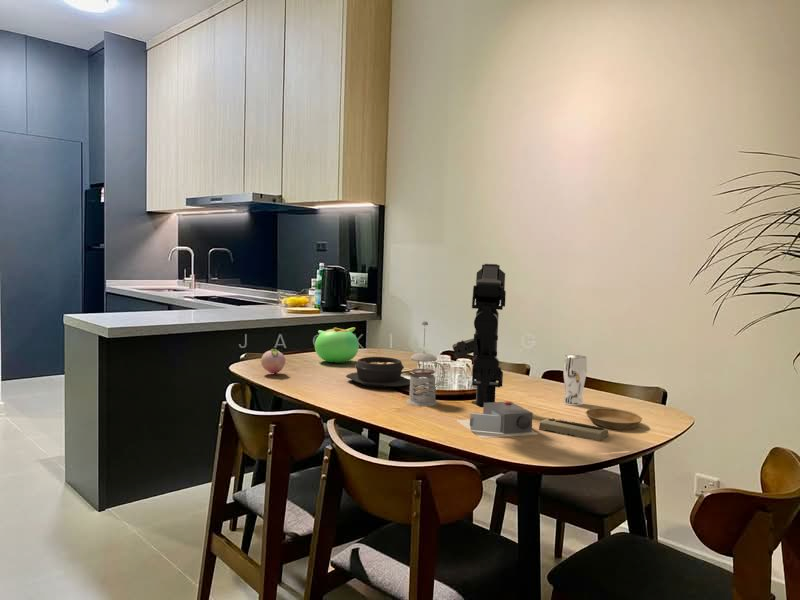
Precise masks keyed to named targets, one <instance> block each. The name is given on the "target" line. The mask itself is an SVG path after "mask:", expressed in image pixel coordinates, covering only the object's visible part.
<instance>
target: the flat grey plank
mask: <svg viewBox="0 0 800 600" xmlns="http://www.w3.org/2000/svg"><path fill="white" fill-rule="evenodd" d="M538 430H539V431H543V432H546V431H548V432H554V433H555V434H559V435H563V436H570V437H575V438H580V439H585V440H591V441H595V442H601V441H602V440H604V439H606V438H607V437H608V435H609V428H605V427H602V426H596V425H590V424H584V423H580V422H575V421H568V420H562V419H559V420H558V419H555V418H546V419H542V420H540V422H539V427H538Z"/></svg>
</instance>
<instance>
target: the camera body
mask: <svg viewBox="0 0 800 600" xmlns="http://www.w3.org/2000/svg"><path fill="white" fill-rule="evenodd" d="M482 408H483V410H482V411H483V413H482V414H488V415H500V416H504V424H503V434H509V433H524V432H532V430H533V412H532V411H530V410H527V409H526V408H524V407H522V406H520V405H518V404H515V403H513V401H509V400H506V401H505V400H504V401H495V402H490V403H484V407H482Z"/></svg>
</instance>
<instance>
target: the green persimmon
mask: <svg viewBox="0 0 800 600" xmlns="http://www.w3.org/2000/svg"><path fill="white" fill-rule="evenodd" d="M355 330H356V327H354V326H353V327H350V328H347V329H344V328H338V327H333V328H330V329H326V330H320V329H319V330H318V331H317V332H318V334H319V335H318V336H317V337H316V338H315V342H314V350H315V352H316V355H317V356H318V357H319V358H320V359H321V360H323V361H326V362H329V363H333V362H335V363H337V364H340V363H345V362H349V361H351V360H353V359H354V358H355V357H356V356H357V354H358V352H359V349H360V344H359V339H358V337H357V336H356V335H355V334H354V333H353V332H354V331H355Z"/></svg>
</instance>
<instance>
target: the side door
mask: <svg viewBox="0 0 800 600" xmlns="http://www.w3.org/2000/svg"><path fill="white" fill-rule="evenodd" d="M503 424H504V416H500V415H488V414H483V413H476V412H471V413H470V426H471V427H470V430H469V431H471V430H476V431H486V432H497V433H503Z"/></svg>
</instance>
